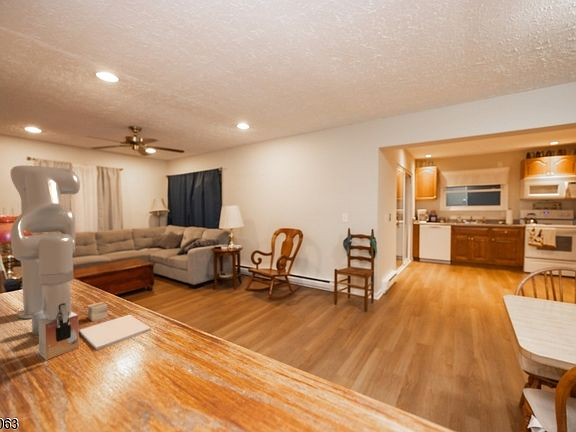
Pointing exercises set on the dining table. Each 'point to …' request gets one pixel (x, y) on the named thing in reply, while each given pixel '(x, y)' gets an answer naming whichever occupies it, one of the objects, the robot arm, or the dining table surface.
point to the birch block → (97, 311)
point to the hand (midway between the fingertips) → (59, 334)
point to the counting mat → (113, 331)
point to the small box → (48, 338)
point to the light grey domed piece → (36, 321)
